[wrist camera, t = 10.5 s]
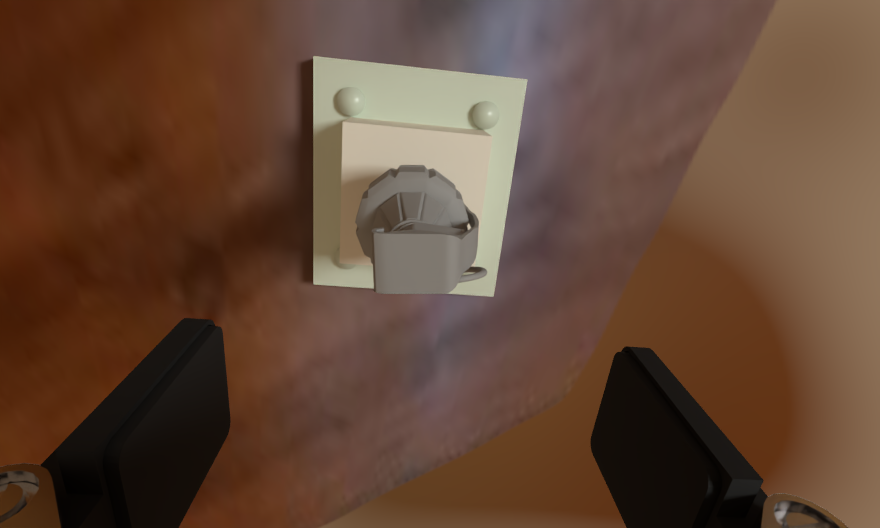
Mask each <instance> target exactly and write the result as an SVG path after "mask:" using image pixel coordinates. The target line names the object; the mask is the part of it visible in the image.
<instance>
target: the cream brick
mask: <svg viewBox="0 0 880 528" xmlns="http://www.w3.org/2000/svg"><path fill="white" fill-rule="evenodd" d="M492 138H493V136H491V135H490V134H488V133H487V132H485V131H484V130H476V129H466V128H456V127H446V126H436V125H425V124H415V123H405V122H395V121H385V120H375V119H365V118H355V117H351V118H349V119H347V120H345V121H343V128H342V174H341V220H340V263H342V264H356V265H370V266H373V264H372V263H371V259H370V258H369V257H367V256H366V255H364V252H363V250H362V247H361V245H360V242H359V240H358V237H357V235H356V229H357V225H356V223H355V221H356V216H357V213H358V209H359V206H360V202H361V199H362V195H363V193H364V192H365V191H366V190H367V189H368V188H369V185H370V183H371V182H373V181H374V180H375V179H377V178H378V177H379V176H381V175H382V174H384V173H385V172H386V171H388V170H389V169H391V168H394V169H398V167H399V166H400V165H424V166H425V167H426V168H427V170H428V169H432V168H433V169H435V170H436V171H438V172H439V173H440V174H442V175H443V176H444V177H446V178H447V179H448V180H450V181H451V182H452V183H454V185H455V188H456V190H458V191H459V192H460V194H461V195H462V199H463V202H464V204H465V205H466V206H467V207H468V209H469V210H470V211H471V212H472V213H474V214H475V215H476V216H477V218H478V221H479V229H478V241H479V233H480V226H481V219H482V211H483V204H484V197H485V189H486V182H487V175H488V167H489V160H490V153H491V145H492ZM467 227H468V230H469V229H470V228H471V226H470V224H469V223H468V225H467ZM477 248H478V247H477ZM475 262H476V259H475V261H474V263H473V264H472V265H471V266H474V267H475ZM467 273H472V272H467Z"/></svg>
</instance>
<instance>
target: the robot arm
mask: <svg viewBox="0 0 880 528" xmlns="http://www.w3.org/2000/svg"><path fill="white" fill-rule="evenodd" d="M229 428H230V410H229V398H228V387H227V376H226V365H225V354H224V343H223V332H222V329H221V327H218V326H215V324H214V322H213V321H212V320H207V319H192V318H184V319H183V320H181V321H180V322H179V323H178V324H177V326H176V327H175V328H174V329H173V330H172V331H171V332H170V333H169V334H168V335H167V336H166V337H165V338H164V339H163V340H162V341H161V342H160V343H159V344H158V345H157V346H156V347H155V348H154V349H153V350H152V351H151V352H150V353H149V354H148V355H147V356H146V357H145V358H144V359H143V360H142V361H141V362H140V364H139V365H138V366H137V367H136V368H135V369H134V370H133V371H132V372H131V373H130V374H129V375H128V376H127V377H126V378H125V379H124V380H123V381H122V382H121V383H120V384H119V385H118V386H117V387H116V388H115V389H114V390H113V391H112V392H111V393H110V394H109V395H108V396H107V397H106V398H105V399H104V400H103V402H102V403H101V404H100V405H99V406H98V407H97V408H96V409H95V410H94V411H93V412H92V413H91V414H90V415H89V416H88V417H87V418H86V419H85V420H84V421H83V422H82V423H81V424H80V425H79V426H78V427H77V428H76V429H75V430H74V431H73V432H72V433H71V434H70V435H69V436H68V437H67V438H66V440H65V441H64V442H63V443H62V444H61V445H60V446H59V447H58V448H57V449H56V450H55V451H54V452H53V453H52V454H51V455H50V456H49V457H48V458H47V459H46V460H45V461H44V462H43V463H42V464H41V465H37V464H28V463H22V464H13V465H6V466H2V467H0V528H179V526H180V524H181V522H182V520H183V518H184V516H185V514H186V513H187V511H188V509H189V507H190V505H191V503H192V501H193V499H194V498H195V496H196V494H197V492H198V490H199V488H200V486H201V484H202V482H203V481H204V479H205V477H206V475H207V473H208V471H209V469H210V467H211V466H212V464H213V462H214V460H215V458H216V456H217V454H218V452H219V451H220V449H221V447H222V445H223V443H224V441H225V439H226V437H227V435H228V432H229ZM591 450H592V453H593V456H594V458H595V460H596V462H597V464H598V466H599V469H600V471H601V473H602V475H603V477H604V480H605V481H606V484H607V486H608V488H609V490H610V493H611V494H612V497H613V499H614V501H615V503H616V506H617V508H618V510H619V512H620V514H621V516H622V519H623V521H624V523H625V525H626V527H627V528H848V527H847V526H846V525H845V524H844V523H843V522H842V521H841V520H840V519H838V518H837V517H835V516H834V515H833V514H831V513H830V512H829V511H827V510H825V509H824V508H822V507H820V506H818V505H817V504H815V503H813V502H811V501H808V500H806V499H803V498H800V497H798V496H794V495H789V494H773V495H771V496H769V497H768V496H767V495H766V494H765V493H764V492H763V490H762V489H761V488H760V487H761V485H762V483H763V479H762V478H761V477H760V476H759V474H758V473H757V472H756V471H755V470H754V469H753V467H752V466H751V465H750V464H749V463H748V462H747V461H746V459H745V458H744V457H743V456H742V454H741V453H740V452H739V451H738V450H737V449H736V448H735V446H734V445H733V444H732V443H731V442H730V441H729V439H728V438H727V437H726V436H725V435H724V433H723V432H722V431H721V430H720V429H719V428H718V426H717V425H716V424H715V423H714V422H713V421H712V419H711V418H710V417H709V416H708V415H707V414H706V412H705V411H704V410H703V409H702V408H701V406H700V405H699V404H698V403H697V402H696V401H695V399H694V398H693V397H692V396H691V395H690V394H689V392H688V391H687V390H686V389H685V388H684V387H683V386H682V384H681V383H680V382H679V381H678V380H677V378H676V377H675V376H674V375H673V374H672V373H671V372H670V370H669V369H668V368H667V367H666V366H665V364H664V363H663V362H662V361H661V360H660V359H659V357H658V356H657V355H656V354H655V353H654V351H653V350H651V349H650V348H638V347H624V348H623V350H622V351H621V352H617V353H616V354H615V356H614V359H613V362H612V366H611V369H610V373H609V376H608V380H607V383H606V387H605V391H604V394H603V398H602V401H601V404H600V408H599V412H598V415H597V419H596V422H595V425H594V429H593V432H592V436H591Z"/></svg>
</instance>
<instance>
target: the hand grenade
mask: <svg viewBox="0 0 880 528" xmlns="http://www.w3.org/2000/svg"><path fill="white" fill-rule="evenodd" d="M355 223H356V225H357V229H356V235H357V237H358V240H359V242H360V245H361V247H362V250H363V252H364V255H366V256H367V257H369V258H370V259H371V263H372V264H373V281H374V291H375V292H376V293H381V294H446V293H449V292H451V291H452V290H453V289H454V288H455V287H456V286H457V284H458V283H462V282H468V281H473V280H477V279H480V278H482V277H484V276H486V275H487V270H486V269H485V268H483V267H474V266H471V265H472V264H473V263H474V261H475V259H476V255H477V247H478V229H479V221H478V218H477V216H476V215H475V214H474V213H472V212H471V211H470V210H469V209H468V207H467V206H466V205H465V204H464V202H463V199H462V195H461V194H460V192H459V191H458V190H456V188H455V185H454V183H452V182H451V181H450V180H448V179H447V178H446V177H444V176H443V175H442V174H440V173H439V172H438V171H436V170H435V169H433V168H432V169H428V170H427V168H426V167H425V166H424V165H400V166H399V167H398V169H394V168H391V169H389V170H388V171H386V172H385V173H384V174H382V175H381V176H379V177H378V178H377V179H375V180H374V181H373V182H371V183H370V185H369V188H368V189H367V190H366V191H365V192H364V193H363V195H362V199H361V202H360V206H359V209H358V213H357V216H356V221H355ZM468 223H469V224H470V226H471V228H470V229H469V230H468V227H467V225H468ZM464 272H472V273H473V274H468V275H462V274H463V273H464Z"/></svg>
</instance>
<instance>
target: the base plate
mask: <svg viewBox="0 0 880 528" xmlns="http://www.w3.org/2000/svg"><path fill="white" fill-rule="evenodd" d="M526 86H527V79H518V78H508V77H499V76H490V75H481V74H472V73H463V72H454V71H445V70H436V69H427V68H417V67H408V66H399V65H390V64H381V63H372V62H363V61H354V60H345V59H336V58H326V57H317V56H313V284H315V285H330V286H344V287H359V288H374V281H373V266H370V265H356V264H342V263H340V220H341V174H342V128H343V121H345V120H347V119H349V118H351V117H355V118H365V119H375V120H385V121H395V122H405V123H415V124H425V125H436V126H446V127H456V128H466V129H476V130H484V131H485V132H487V133H488V134H490V135H491V136H493V138H492V145H491V153H490V160H489V167H488V175H487V182H486V189H485V197H484V204H483V211H482V219H481V226H480V233H479V241H478V248H477V255H476V262H475V267H483V268H485V269H486V270H487V275H486V276H484V277H482V278H480V279H477V280H473V281H468V282H462V283H458V284H457V286H456V287H455V288H454V289H453V290H452V291H451V292H449V293H448V294H462V295H477V296H492V297H494V290H495V284H496V277H497V271H498V265H499V258H500V252H501V245H502V239H503V233H504V226H505V220H506V213H507V207H508V201H509V194H510V188H511V182H512V175H513V169H514V162H515V156H516V150H517V143H518V137H519V130H520V124H521V118H522V111H523V105H524V98H525V92H526ZM468 274H473V273H467V272H464V273H463V274H462V275H468Z"/></svg>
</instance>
